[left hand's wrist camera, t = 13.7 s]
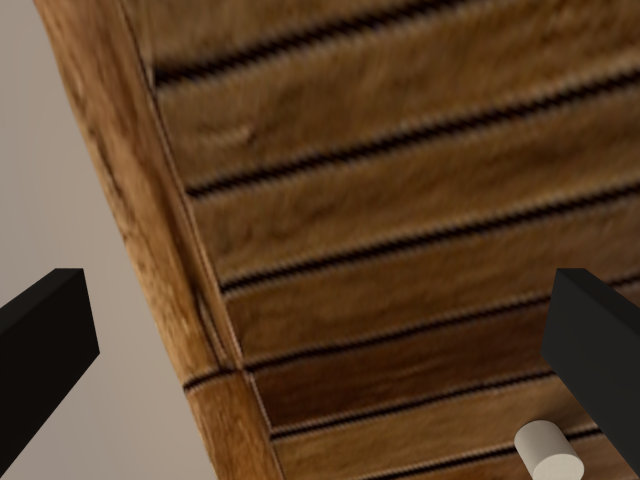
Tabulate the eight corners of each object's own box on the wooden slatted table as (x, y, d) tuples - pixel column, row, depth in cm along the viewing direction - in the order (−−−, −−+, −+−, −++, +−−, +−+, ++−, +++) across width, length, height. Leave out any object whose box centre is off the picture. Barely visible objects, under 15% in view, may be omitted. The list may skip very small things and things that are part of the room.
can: (531, 463, 46) (552, 499, 42) (505, 438, 45) (523, 473, 41) (569, 438, 45) (594, 473, 41) (543, 412, 44) (565, 445, 40)
